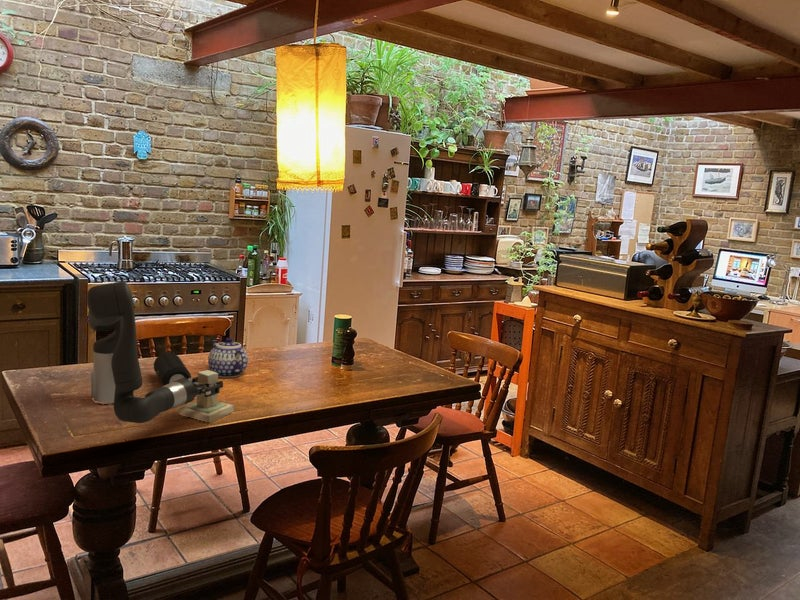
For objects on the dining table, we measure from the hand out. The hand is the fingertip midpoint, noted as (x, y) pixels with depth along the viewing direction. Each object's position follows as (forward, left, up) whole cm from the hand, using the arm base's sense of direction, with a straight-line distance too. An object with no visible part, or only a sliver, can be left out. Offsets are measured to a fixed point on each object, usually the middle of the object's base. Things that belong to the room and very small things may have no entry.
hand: (211, 381), depth 209 cm
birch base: (0, -2, -10) cm, 11 cm away
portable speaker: (-29, +14, -11) cm, 34 cm away
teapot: (-22, +37, -11) cm, 44 cm away
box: (0, -2, -8) cm, 8 cm away
